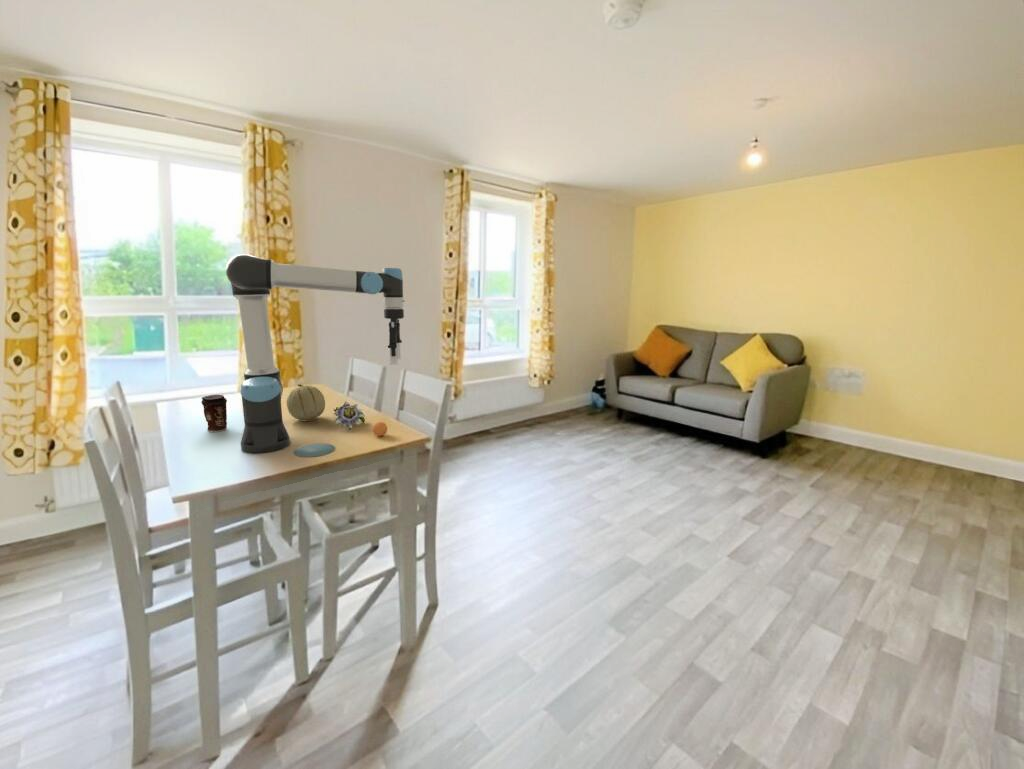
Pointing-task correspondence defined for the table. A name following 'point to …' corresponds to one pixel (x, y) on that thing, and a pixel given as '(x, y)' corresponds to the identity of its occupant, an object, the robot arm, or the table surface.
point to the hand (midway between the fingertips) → (395, 361)
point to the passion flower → (349, 415)
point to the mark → (314, 450)
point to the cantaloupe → (305, 403)
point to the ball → (379, 428)
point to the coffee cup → (215, 412)
